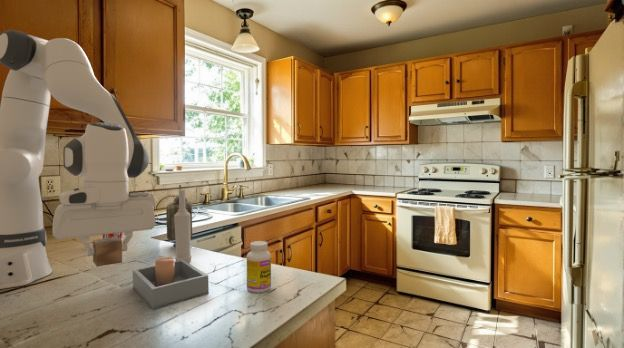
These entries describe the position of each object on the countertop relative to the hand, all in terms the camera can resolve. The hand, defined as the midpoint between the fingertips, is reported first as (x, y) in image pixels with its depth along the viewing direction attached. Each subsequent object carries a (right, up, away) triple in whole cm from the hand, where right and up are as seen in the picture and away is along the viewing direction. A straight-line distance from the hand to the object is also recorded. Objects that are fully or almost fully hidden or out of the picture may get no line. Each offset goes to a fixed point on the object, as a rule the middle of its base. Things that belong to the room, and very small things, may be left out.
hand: (107, 252), depth 78 cm
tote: (+9, -14, +14) cm, 21 cm away
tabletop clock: (-5, -11, +57) cm, 59 cm away
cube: (0, -2, 0) cm, 2 cm away
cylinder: (+6, -13, +17) cm, 22 cm away
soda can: (-35, -11, +62) cm, 72 cm away
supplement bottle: (+33, -14, +15) cm, 39 cm away
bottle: (+3, -12, +38) cm, 40 cm away
